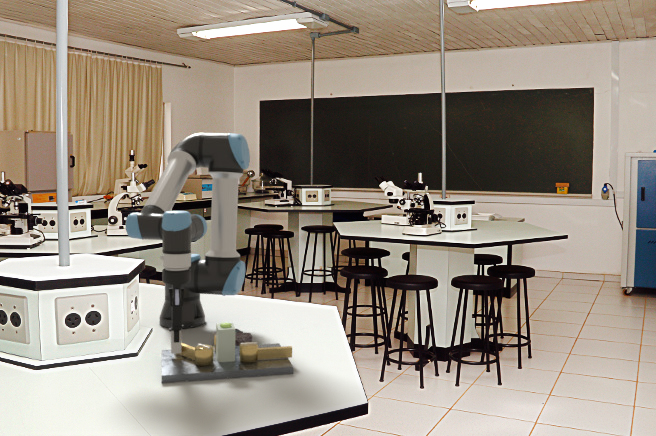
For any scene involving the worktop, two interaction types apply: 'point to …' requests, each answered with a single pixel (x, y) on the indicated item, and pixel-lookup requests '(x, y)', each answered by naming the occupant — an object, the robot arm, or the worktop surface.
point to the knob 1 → (198, 353)
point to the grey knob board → (220, 367)
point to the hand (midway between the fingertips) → (176, 352)
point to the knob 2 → (262, 352)
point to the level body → (225, 342)
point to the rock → (241, 337)
